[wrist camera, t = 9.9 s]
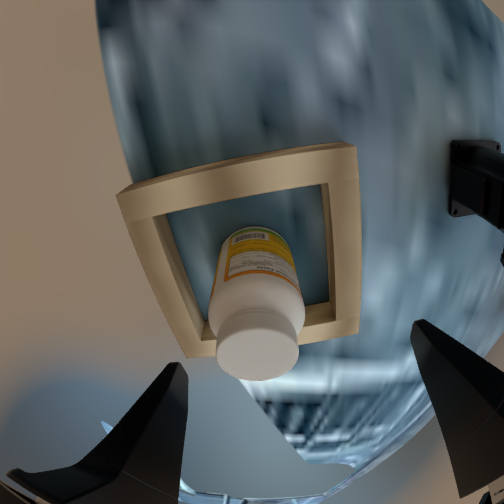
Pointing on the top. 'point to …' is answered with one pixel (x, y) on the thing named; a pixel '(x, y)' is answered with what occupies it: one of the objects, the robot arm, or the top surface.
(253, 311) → the supplement bottle
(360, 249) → the tan square frame
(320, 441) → the top surface
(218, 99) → the top surface
